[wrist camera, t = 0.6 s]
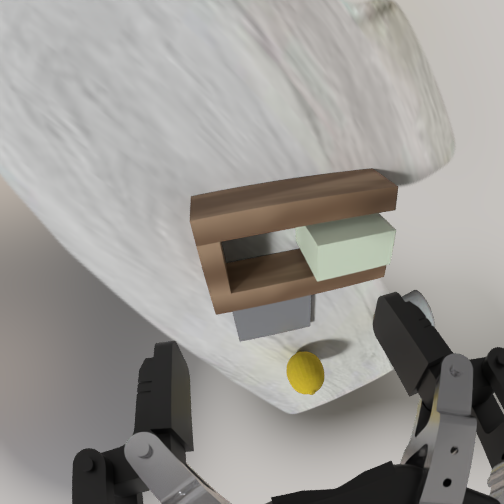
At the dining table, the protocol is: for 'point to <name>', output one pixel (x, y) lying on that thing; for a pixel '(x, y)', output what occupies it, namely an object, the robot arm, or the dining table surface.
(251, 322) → the slate coaster
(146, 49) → the dining table surface
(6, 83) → the dining table surface
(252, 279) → the rail
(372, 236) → the sage block
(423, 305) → the ceramic mug
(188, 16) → the dining table surface
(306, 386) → the lemon
